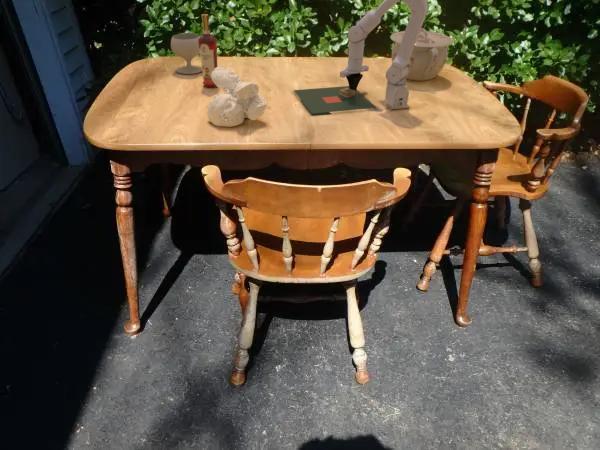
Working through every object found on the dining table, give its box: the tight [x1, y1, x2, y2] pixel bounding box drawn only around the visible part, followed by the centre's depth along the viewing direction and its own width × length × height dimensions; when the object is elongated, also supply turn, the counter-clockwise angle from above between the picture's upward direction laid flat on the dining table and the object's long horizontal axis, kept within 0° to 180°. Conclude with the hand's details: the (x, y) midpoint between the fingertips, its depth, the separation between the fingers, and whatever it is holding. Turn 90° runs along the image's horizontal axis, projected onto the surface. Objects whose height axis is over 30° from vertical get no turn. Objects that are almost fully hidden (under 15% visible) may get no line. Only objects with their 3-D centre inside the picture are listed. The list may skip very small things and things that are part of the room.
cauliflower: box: [206, 66, 268, 128], centre depth 167 cm, size 19×20×20 cm
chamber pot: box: [389, 27, 455, 82], centre depth 210 cm, size 28×28×21 cm
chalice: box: [170, 32, 203, 75], centre depth 212 cm, size 14×14×15 cm
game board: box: [293, 85, 377, 116], centre depth 188 cm, size 26×26×1 cm
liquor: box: [198, 13, 218, 88], centre depth 192 cm, size 7×7×28 cm
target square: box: [322, 96, 342, 103], centre depth 187 cm, size 6×6×1 cm
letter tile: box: [339, 88, 355, 98], centre depth 191 cm, size 4×4×2 cm
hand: (352, 91), depth 193 cm, fingers closed
